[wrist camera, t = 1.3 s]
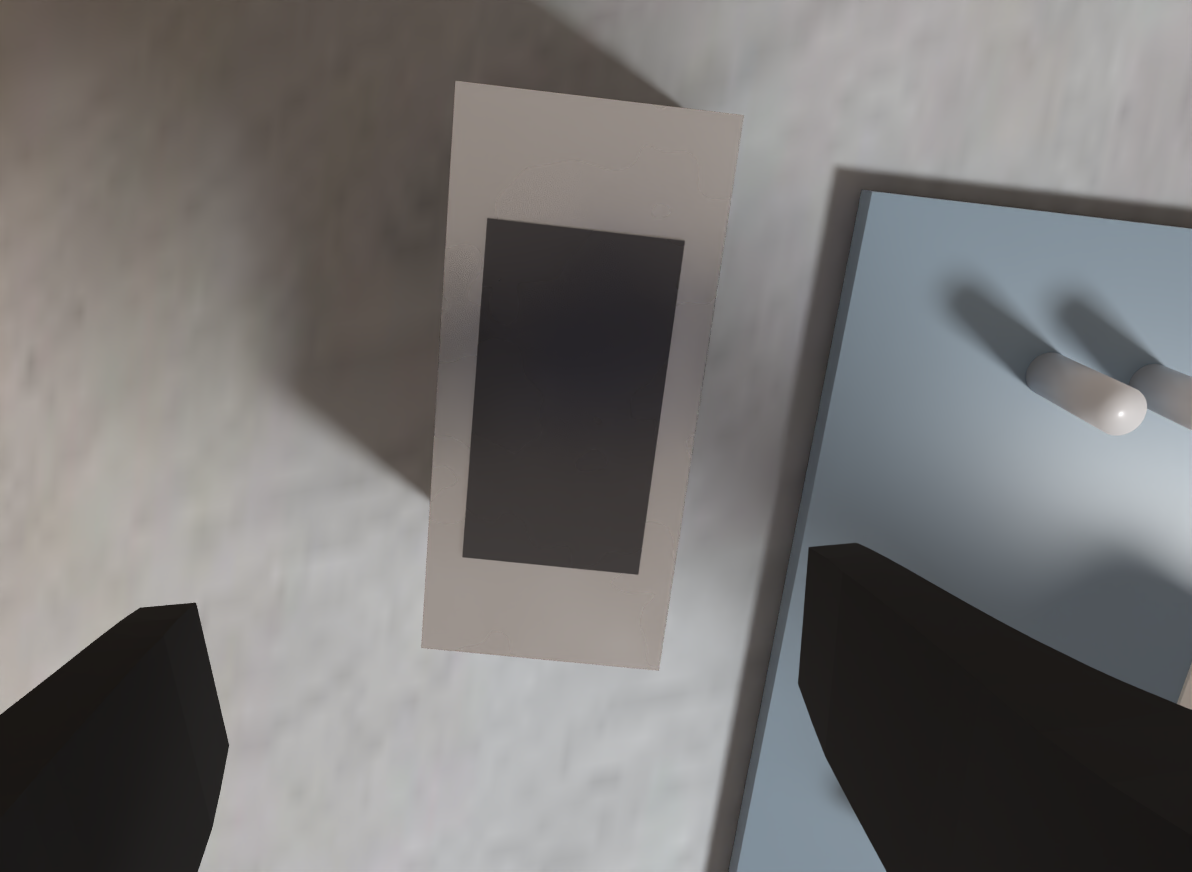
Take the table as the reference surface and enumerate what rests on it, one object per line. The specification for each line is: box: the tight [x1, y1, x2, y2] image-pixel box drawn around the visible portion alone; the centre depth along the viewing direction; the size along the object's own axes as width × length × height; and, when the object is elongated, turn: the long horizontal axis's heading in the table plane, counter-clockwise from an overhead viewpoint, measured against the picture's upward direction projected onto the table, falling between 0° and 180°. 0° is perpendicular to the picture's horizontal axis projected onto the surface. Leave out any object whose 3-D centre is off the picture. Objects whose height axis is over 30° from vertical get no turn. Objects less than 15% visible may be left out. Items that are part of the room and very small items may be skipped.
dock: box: [728, 190, 1192, 872], centre depth 22 cm, size 12×20×4 cm, turn 174°
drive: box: [421, 81, 744, 671], centre depth 18 cm, size 4×10×6 cm, turn 174°
